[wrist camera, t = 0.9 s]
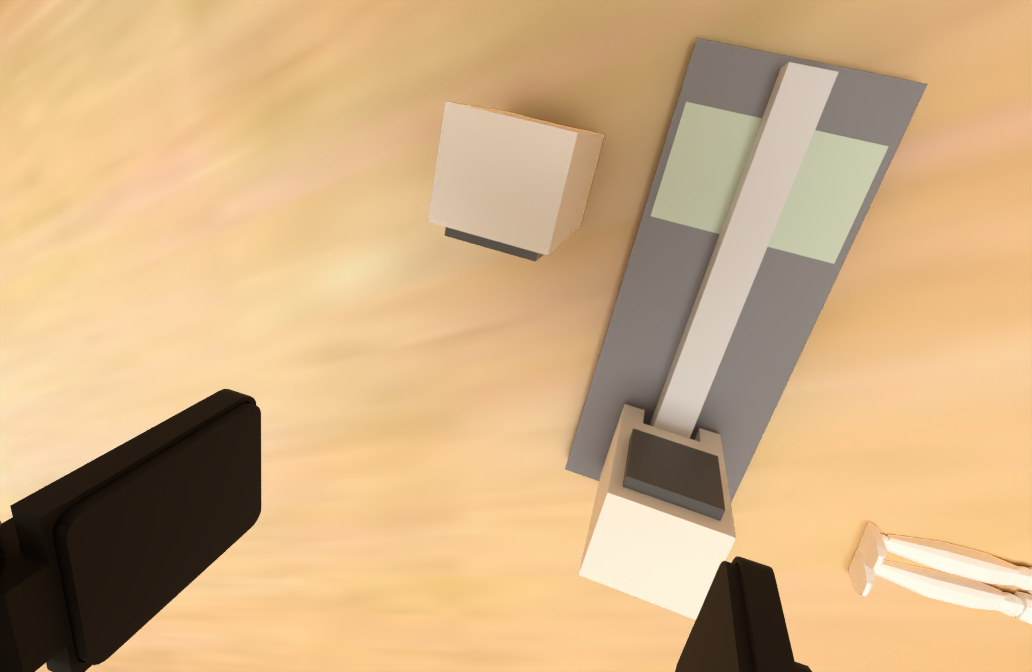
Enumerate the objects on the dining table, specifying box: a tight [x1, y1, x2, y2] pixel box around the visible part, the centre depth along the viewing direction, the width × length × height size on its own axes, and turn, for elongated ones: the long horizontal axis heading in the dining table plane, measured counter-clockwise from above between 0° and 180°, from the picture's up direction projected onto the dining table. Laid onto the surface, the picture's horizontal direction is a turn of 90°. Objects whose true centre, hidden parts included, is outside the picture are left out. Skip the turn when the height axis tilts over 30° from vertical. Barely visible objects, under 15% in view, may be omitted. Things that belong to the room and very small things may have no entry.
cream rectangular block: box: [427, 101, 604, 261], centre depth 26 cm, size 6×6×9 cm
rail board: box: [565, 38, 927, 620], centre depth 26 cm, size 25×10×11 cm, turn 168°
